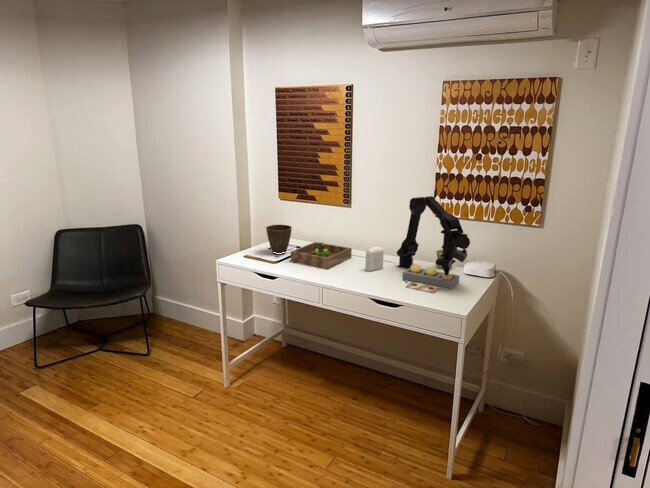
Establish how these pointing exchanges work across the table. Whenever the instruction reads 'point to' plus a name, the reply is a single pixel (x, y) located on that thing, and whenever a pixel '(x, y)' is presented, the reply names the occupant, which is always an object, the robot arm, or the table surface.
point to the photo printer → (374, 259)
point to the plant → (321, 251)
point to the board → (431, 279)
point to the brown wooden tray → (319, 261)
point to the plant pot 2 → (439, 256)
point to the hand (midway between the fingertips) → (446, 275)
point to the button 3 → (447, 276)
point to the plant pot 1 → (279, 238)
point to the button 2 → (431, 271)
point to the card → (422, 287)
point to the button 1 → (415, 269)
